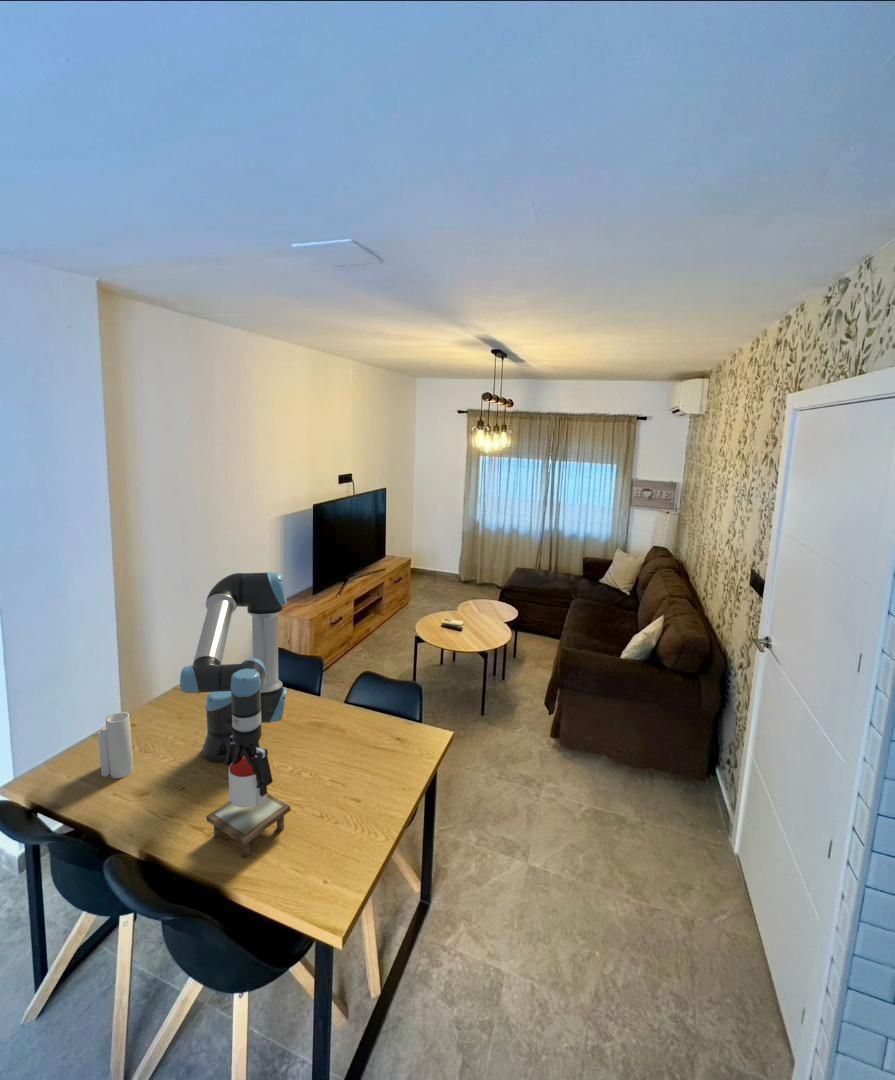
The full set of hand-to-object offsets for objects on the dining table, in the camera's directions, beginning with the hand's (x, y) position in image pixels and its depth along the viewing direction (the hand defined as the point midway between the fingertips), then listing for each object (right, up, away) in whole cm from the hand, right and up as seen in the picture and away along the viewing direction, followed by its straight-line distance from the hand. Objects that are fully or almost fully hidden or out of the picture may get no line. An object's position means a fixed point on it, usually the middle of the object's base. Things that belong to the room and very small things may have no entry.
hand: (248, 796), depth 150 cm
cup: (0, -1, 0) cm, 1 cm away
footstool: (-1, -12, +2) cm, 12 cm away
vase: (-54, -4, +26) cm, 60 cm away
